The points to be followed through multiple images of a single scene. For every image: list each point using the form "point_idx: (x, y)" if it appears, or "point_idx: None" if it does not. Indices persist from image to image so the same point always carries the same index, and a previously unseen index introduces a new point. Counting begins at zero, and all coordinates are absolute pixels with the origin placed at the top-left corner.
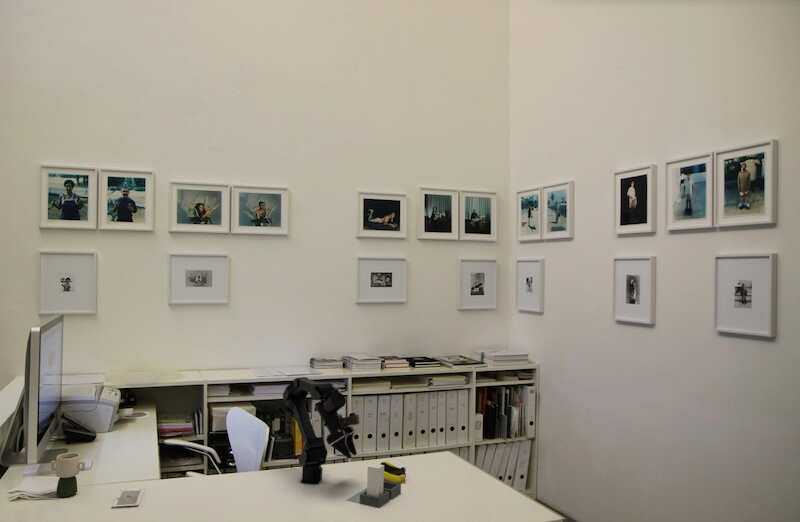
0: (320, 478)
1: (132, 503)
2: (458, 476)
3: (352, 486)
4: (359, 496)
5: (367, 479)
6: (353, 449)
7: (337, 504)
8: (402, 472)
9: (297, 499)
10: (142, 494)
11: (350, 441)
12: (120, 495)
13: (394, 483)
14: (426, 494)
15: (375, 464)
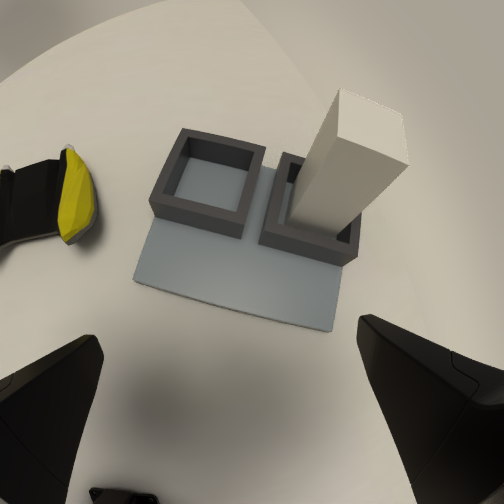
0: (129, 496)
1: None
2: (32, 84)
3: (122, 360)
4: (270, 289)
5: (371, 201)
6: (73, 372)
7: (345, 356)
8: (39, 162)
9: (337, 495)
10: None
11: (14, 425)
12: None
13: (175, 149)
14: (155, 99)
15: (353, 126)
